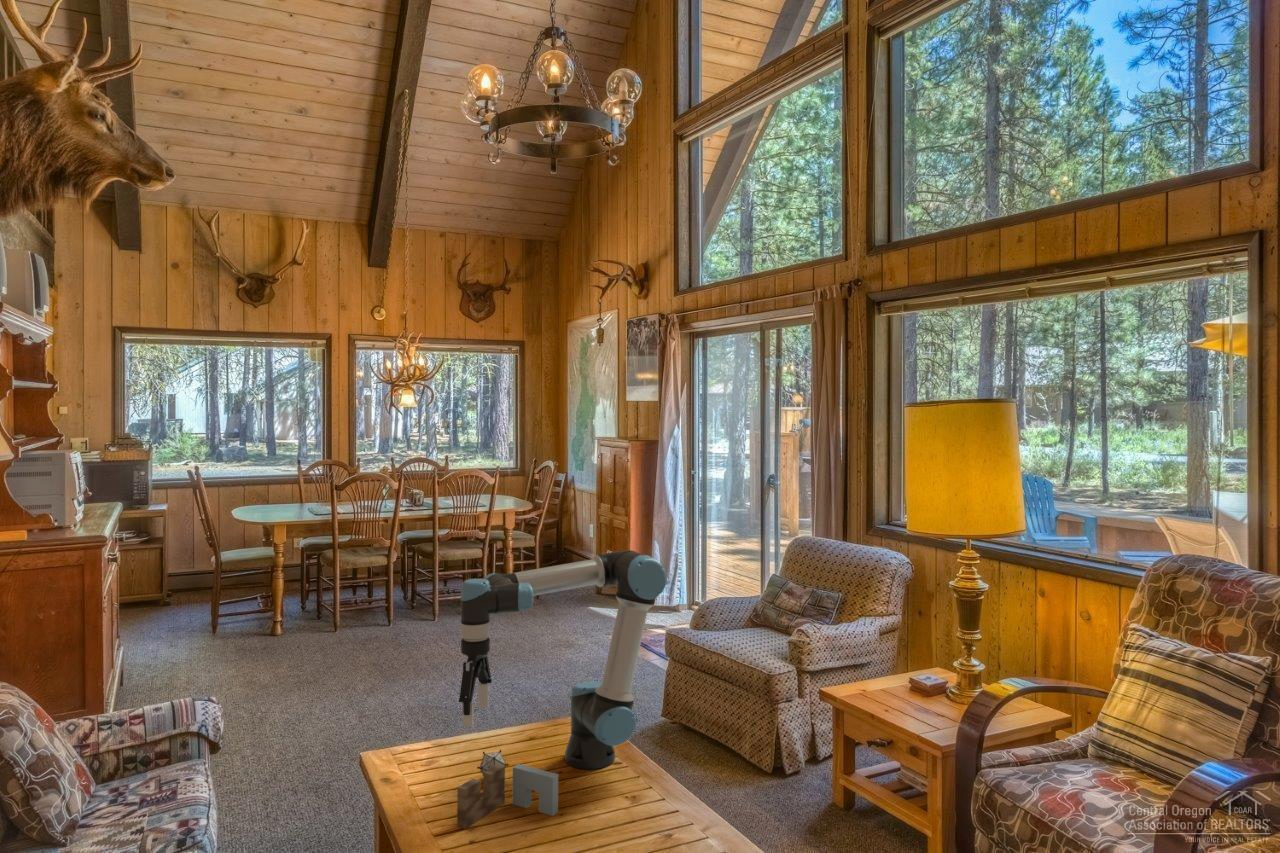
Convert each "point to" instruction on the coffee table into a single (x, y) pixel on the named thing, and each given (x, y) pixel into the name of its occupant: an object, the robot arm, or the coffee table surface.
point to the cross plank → (535, 788)
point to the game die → (491, 761)
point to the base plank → (480, 796)
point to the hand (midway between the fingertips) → (475, 716)
